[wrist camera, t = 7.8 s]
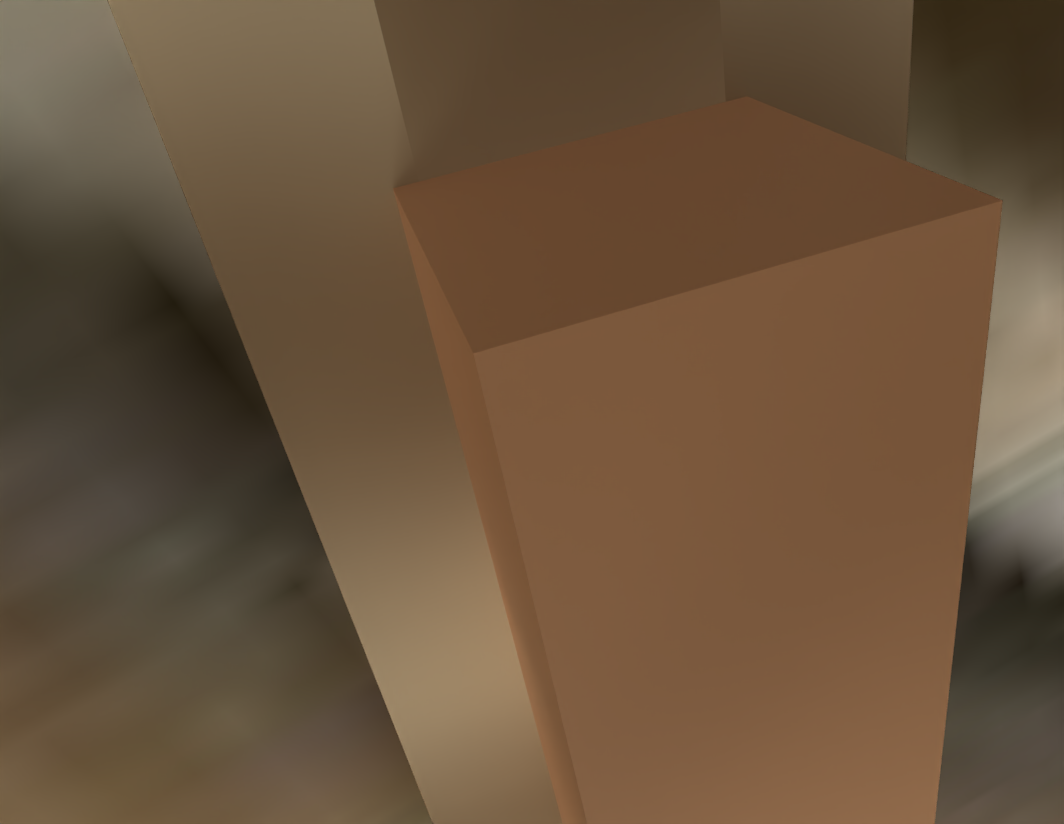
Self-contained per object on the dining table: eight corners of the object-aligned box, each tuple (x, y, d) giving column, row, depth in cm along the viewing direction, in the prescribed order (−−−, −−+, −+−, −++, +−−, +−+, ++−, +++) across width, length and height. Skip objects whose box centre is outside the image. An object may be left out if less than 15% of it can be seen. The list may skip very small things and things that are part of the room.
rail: (785, 926, 21) (860, 1070, 18) (536, 1025, 20) (578, 1190, 17) (735, -255, 9) (930, -313, 6) (113, -130, 8) (51, -140, 5)
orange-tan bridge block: (705, 684, 15) (910, 1040, 10) (532, 745, 14) (664, 1144, 10) (637, 51, 9) (1003, 199, 5) (359, 120, 9) (471, 353, 4)
